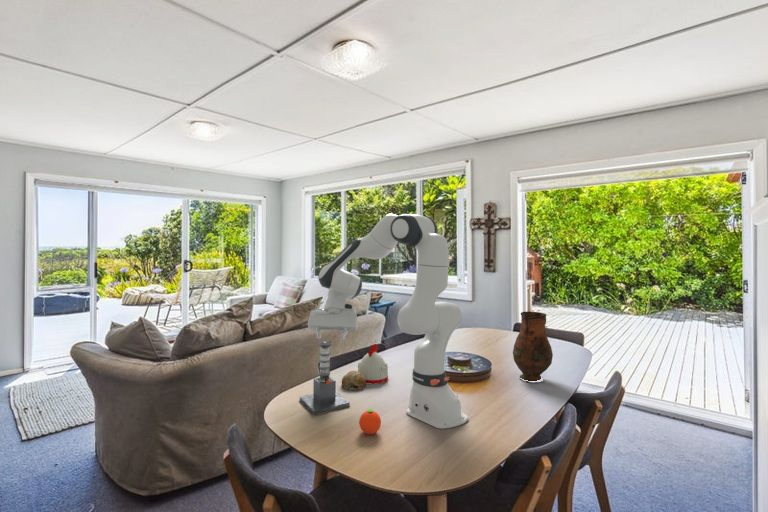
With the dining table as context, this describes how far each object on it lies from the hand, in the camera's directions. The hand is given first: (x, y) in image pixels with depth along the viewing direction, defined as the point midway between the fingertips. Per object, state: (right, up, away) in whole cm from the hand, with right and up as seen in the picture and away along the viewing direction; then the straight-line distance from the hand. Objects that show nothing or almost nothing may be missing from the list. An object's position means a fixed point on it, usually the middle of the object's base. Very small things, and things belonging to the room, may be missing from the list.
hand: (330, 338), depth 150 cm
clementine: (+17, -24, -29) cm, 41 cm away
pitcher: (+89, -23, +23) cm, 95 cm away
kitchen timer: (+16, -22, +19) cm, 33 cm away
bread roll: (+8, -22, +10) cm, 26 cm away
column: (-1, -16, -9) cm, 18 cm away
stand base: (-1, -22, -8) cm, 24 cm away
